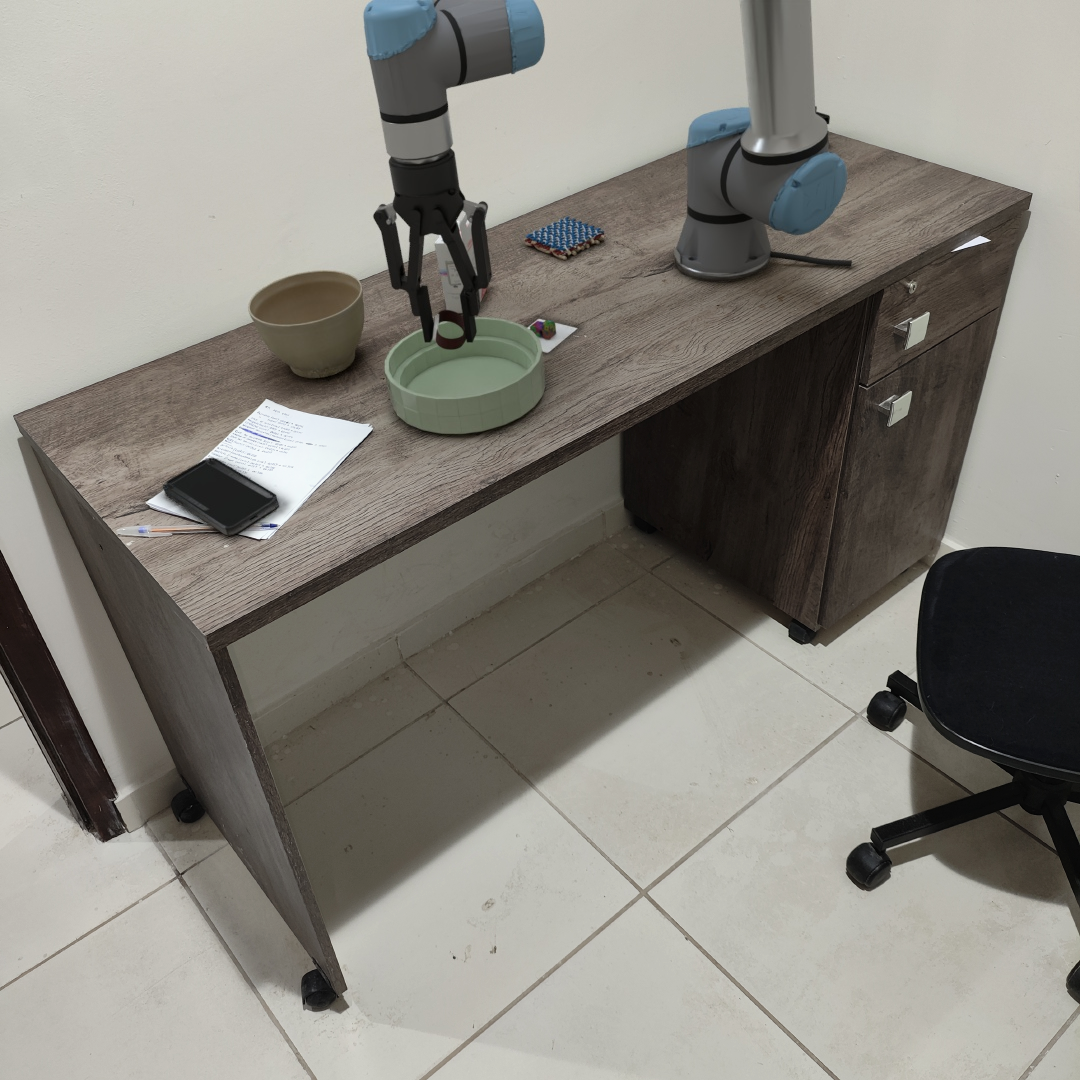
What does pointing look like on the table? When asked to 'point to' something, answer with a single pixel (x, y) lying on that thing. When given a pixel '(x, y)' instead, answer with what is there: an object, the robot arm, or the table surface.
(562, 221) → the woven mat
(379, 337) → the table surface
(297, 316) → the planter bowl
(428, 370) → the bowl
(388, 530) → the table surface
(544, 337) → the white paper sheet
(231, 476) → the phone
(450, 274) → the ink cartridge box
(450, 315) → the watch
